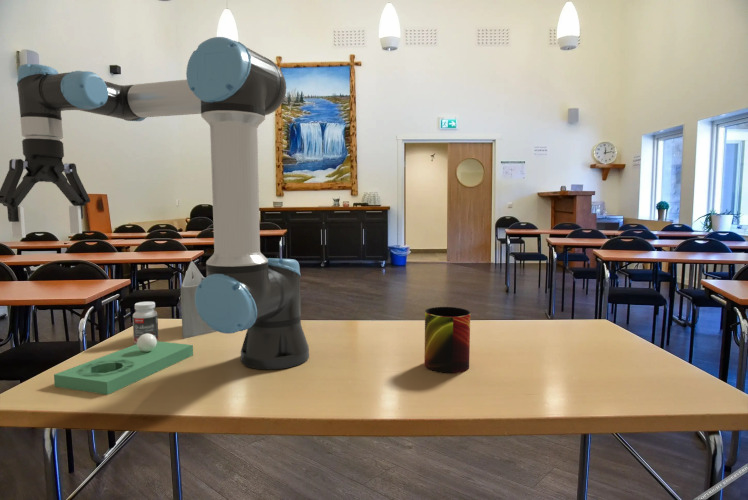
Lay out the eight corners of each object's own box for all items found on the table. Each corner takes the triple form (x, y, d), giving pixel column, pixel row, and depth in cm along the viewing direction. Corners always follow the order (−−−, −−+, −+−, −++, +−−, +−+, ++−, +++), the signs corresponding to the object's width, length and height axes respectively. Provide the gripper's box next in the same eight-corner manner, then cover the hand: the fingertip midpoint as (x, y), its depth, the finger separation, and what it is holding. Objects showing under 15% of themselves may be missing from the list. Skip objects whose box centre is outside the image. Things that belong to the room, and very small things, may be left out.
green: (147, 349, 116) (147, 340, 115) (193, 355, 112) (192, 345, 111) (54, 386, 93) (53, 374, 93) (107, 394, 89) (106, 382, 89)
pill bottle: (133, 346, 119) (131, 306, 118) (134, 339, 124) (132, 302, 123) (158, 343, 121) (156, 304, 120) (158, 337, 126) (157, 300, 125)
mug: (457, 352, 114) (458, 302, 113) (475, 373, 100) (476, 316, 99) (417, 353, 113) (417, 303, 112) (429, 374, 99) (430, 317, 98)
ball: (161, 349, 108) (160, 332, 108) (147, 355, 104) (147, 337, 104) (146, 347, 109) (146, 330, 109) (133, 353, 105) (132, 335, 105)
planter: (212, 338, 125) (210, 264, 123) (182, 338, 125) (178, 264, 123) (230, 322, 142) (228, 257, 140) (203, 322, 141) (200, 257, 139)
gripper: (79, 145, 119) (84, 231, 121) (-32, 132, 96) (-23, 239, 98) (103, 144, 117) (108, 232, 119) (-5, 130, 93) (4, 239, 95)
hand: (49, 235), depth 108 cm, fingers open, 13 cm apart
